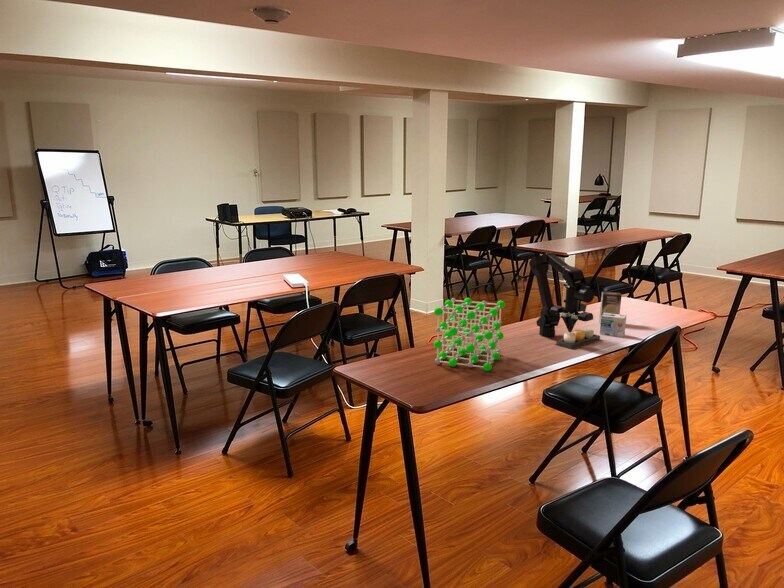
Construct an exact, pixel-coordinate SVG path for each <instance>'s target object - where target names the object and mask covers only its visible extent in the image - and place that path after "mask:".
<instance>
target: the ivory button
mask: <svg viewBox="0 0 784 588" xmlns="http://www.w3.org/2000/svg"><path fill="white" fill-rule="evenodd" d="M575 338H576V334H574V333H573V332H563V339H564V342H565V343H569V344H573V343H575Z"/></svg>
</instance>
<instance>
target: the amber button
mask: <svg viewBox="0 0 784 588" xmlns="http://www.w3.org/2000/svg"><path fill="white" fill-rule="evenodd" d="M583 330H584V329H574V330H572V333H574V334H576V338H575V340H578V341H582V340H584V338H585V331H583Z"/></svg>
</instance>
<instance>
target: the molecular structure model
mask: <svg viewBox="0 0 784 588" xmlns="http://www.w3.org/2000/svg"><path fill="white" fill-rule="evenodd" d="M455 302H460V303H461V302H462V303H461V304H455ZM472 304H476V305H472ZM486 305H491V306H492V305H493V306H494V305H495V306H494V307H490V306H489V307H487V306H486ZM505 306H506V304H505V301H503V300H498V301H497V303H494V302H488V301H486V300H482V301H473V300H472V298H470V297H465V298H464V300H461V299H460V300H459V299H456V298H455V297H452V298H451V299H447V300H445V302H444V305H441V306H440V307H435V309H434V311H433V312H434V315H435V316H437V319H436V320H437V321H436V322H437V324H436V325H437V327H436V328H435V332H436V333H437V334H436V336H437V337H436V340H435V341H434V342H433V347H434V348H436V358H435V359H434V362H435V363H436V364H439V363H444V364H445V363H446V364H449V366H450V367H451V368H452V367H456V366H457V365H458V366H459V365H460V366H467V367H468V368H472V367H475V368H481V369H482V368H483V370H484V371H485V372H490V371H491V370H492V368H493V365H492V364H493V363H494V361H498V360H499V359H500V354H501V353H502V351H501V349H500V347H501V340H503V339H504V335H505V334H504V332H502V331H501V325H502V324H503V321H502V309H504V308H505ZM465 308H466V309H465ZM469 308H474V309H469ZM446 310H447V311H446ZM450 310H452V311H451V312H450ZM485 310H489V311H485ZM498 311H499V313H498ZM465 312H466V313H465ZM445 314H447V318H446V320H445ZM485 314H486V315H485ZM498 314H499V318H498ZM441 315H442V321H441V322H440V316H441ZM460 316H462V317H460ZM477 317H478V318H477ZM494 318H495V319H494ZM469 321H470V322H469ZM473 321H474V322H473ZM450 323H452V325H450ZM455 324H456V326H455ZM469 326H470V327H469ZM481 327H482V328H481ZM485 327H487V329H485ZM490 327H491V328H490ZM440 332H441V333H442V335H441V336H442V337H441V338H440ZM460 334H461V335H460ZM464 340H465V341H464ZM468 340H469V341H468ZM472 341H473V342H472ZM486 341H487V343H485V342H486ZM445 342H446V344H444V343H445ZM481 342H482V343H481ZM497 344H498V345H497ZM445 347H446V348H445ZM476 347H477V348H476ZM444 348H445V350H444ZM439 349H441V351H440V352H439ZM455 349H456V350H455ZM449 353H452V355H448V354H449ZM485 353H486V354H485ZM489 354H490V355H489ZM466 355H468V356H469V357H467V358H465V356H466ZM479 357H486V360H485V359H484V360H482V359H479ZM446 358H448V359H449V358H450V359H449V360H448V361H447V360H446V361H445V359H446ZM443 360H444V361H443ZM458 360H465V361H466V360H467V361H468V363H461V362H460V363H459V362H458ZM478 362H483V363H484V364H483V365H476V364H477V363H478ZM474 363H475V364H474Z"/></svg>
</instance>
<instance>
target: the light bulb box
mask: <svg viewBox="0 0 784 588" xmlns="http://www.w3.org/2000/svg"><path fill="white" fill-rule="evenodd" d="M626 322H627V314H611V313H603V314H602V316H601V324H600V323H599V326H600V328H599V336H601V335H602V336H609V337H617V338H624V336H625V335H626V326H627V325H626Z"/></svg>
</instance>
